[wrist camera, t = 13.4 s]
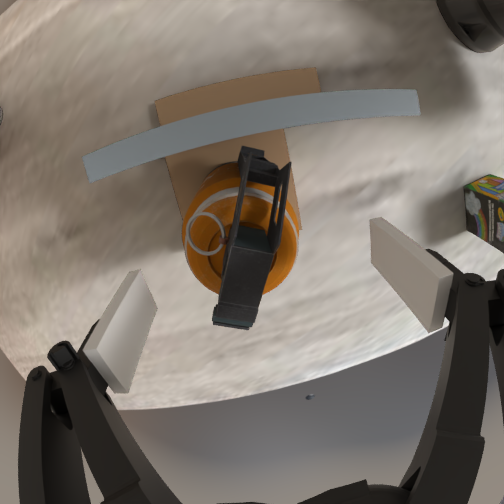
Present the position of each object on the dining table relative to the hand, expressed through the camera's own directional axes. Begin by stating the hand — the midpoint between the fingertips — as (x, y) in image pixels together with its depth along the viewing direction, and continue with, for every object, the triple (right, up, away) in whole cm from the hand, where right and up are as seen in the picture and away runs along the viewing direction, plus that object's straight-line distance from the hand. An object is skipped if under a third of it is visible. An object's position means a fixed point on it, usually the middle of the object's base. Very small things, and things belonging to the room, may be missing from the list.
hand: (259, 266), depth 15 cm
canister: (-2, +8, +18) cm, 19 cm away
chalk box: (+41, +10, +23) cm, 48 cm away
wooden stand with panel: (0, +13, +19) cm, 23 cm away
